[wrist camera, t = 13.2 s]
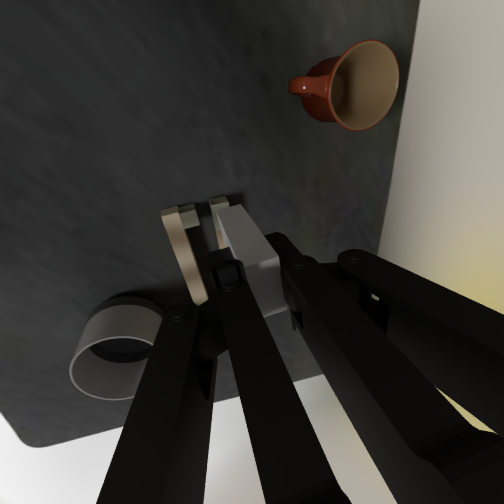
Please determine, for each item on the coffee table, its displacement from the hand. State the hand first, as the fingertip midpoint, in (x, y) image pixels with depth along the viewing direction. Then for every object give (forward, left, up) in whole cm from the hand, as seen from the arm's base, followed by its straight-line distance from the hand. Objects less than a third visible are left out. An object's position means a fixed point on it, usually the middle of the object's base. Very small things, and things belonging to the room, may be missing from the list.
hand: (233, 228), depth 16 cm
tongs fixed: (+18, -4, -26) cm, 32 cm away
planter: (+24, -19, -27) cm, 41 cm away
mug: (-5, +18, -27) cm, 33 cm away
